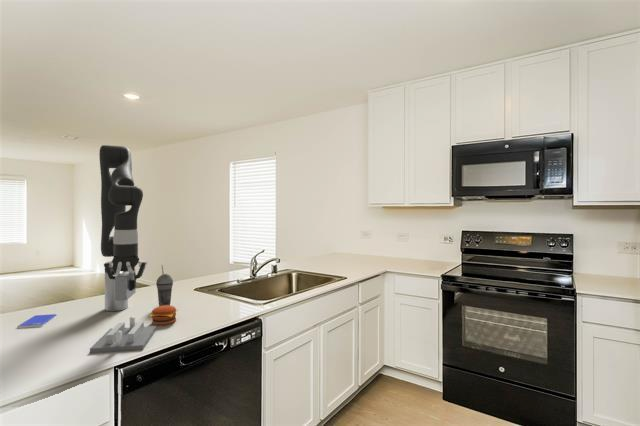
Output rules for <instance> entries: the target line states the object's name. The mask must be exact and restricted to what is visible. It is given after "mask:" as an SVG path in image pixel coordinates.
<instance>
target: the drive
mask: <svg viewBox="0 0 640 426" xmlns="http://www.w3.org/2000/svg"><path fill="white" fill-rule="evenodd" d="M135 273H136V272H135ZM130 281H131V278H130V274H129V272H128V271H125V272H123V273H122V274H120V275H118V276H117V277H115V301H121V300H127V299H128V300H129V299H130V298H131V297H132V296H134V295H135V294H136V293H137V292H136V288H137V287H136V288H135V289H134V290H133V291H130Z"/></svg>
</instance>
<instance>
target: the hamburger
mask: <svg viewBox="0 0 640 426" xmlns="http://www.w3.org/2000/svg"><path fill="white" fill-rule="evenodd" d="M178 311H179V309H177V308H176V307H175V306H173V305H170V306H169V305H163V306H159V305H158V306H157V307H154V308H153V309H152V311H151V314H150V315H149V318H152V320H151V324H152V326H156V327H157V326H159V327H161V326H163V327H164V326H169V325H172V324H174V323H175V322H176V321H177V318H176V316H177V312H178Z"/></svg>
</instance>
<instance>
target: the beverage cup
mask: <svg viewBox="0 0 640 426" xmlns="http://www.w3.org/2000/svg"><path fill="white" fill-rule="evenodd" d="M161 272H162V274H160V276H159V277H157V279H156V283H155V285H156V288H157V299H158V301H157V302H158V307H159V306H163V305H169V306H171V299H172V292H173V291H172V290H173V286H174V285H173V284H174V280H173V277H172V276H171V275H170V274H168V273H164V265H162V264H161Z"/></svg>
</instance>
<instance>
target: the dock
mask: <svg viewBox="0 0 640 426" xmlns="http://www.w3.org/2000/svg"><path fill="white" fill-rule="evenodd" d="M144 323H145V321H136V316H135V315H132V316H130V317H129V327H126V326H125V325H126V322H118V323H117V324H116V325H115V326H114V327H113V328H109V330H108V331H107V332H106V333H104V334H103V335H102V336H101V337H100V338H99V339H98V340H97V341H96V342H95V343H94V344H93V345H92V346H91V347H90V348H89V353H90V354H96V353H97V354H98V353H111V352H112V353H113V352H126V351H140V350H142V351H143V350H144V349H145V348H146V346H147V344H148V343H149V342H150V340H151V338H152V337H153V336H154V334H155V333H156V331H157V325H152V326H151V325H150V326H145V325H144Z"/></svg>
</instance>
